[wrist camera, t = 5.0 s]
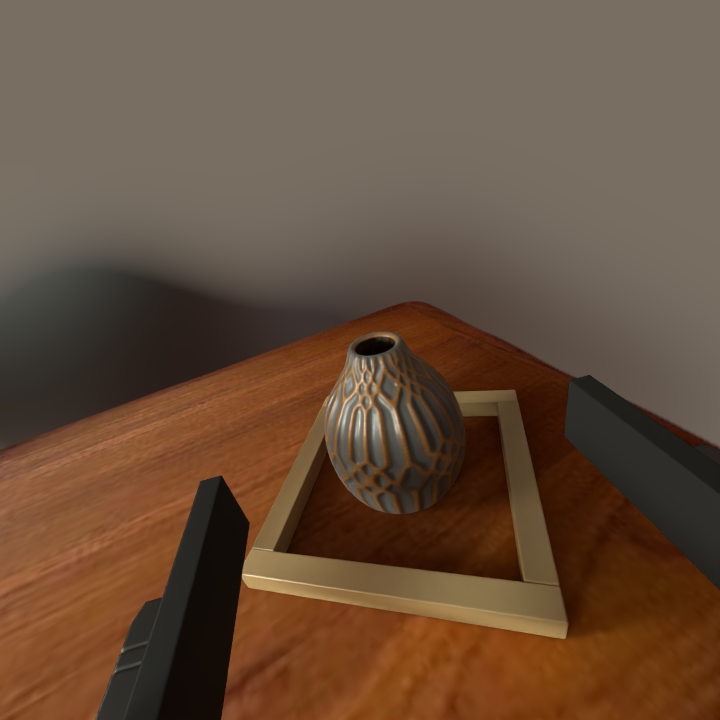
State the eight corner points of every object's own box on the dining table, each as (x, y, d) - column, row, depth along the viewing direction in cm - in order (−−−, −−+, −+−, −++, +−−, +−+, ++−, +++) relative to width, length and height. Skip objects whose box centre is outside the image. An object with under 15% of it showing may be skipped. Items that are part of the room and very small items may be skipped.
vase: (355, 558, 16) (300, 412, 12) (337, 455, 22) (295, 333, 18) (495, 513, 17) (489, 357, 12) (439, 424, 23) (422, 298, 18)
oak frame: (515, 404, 23) (515, 389, 22) (566, 640, 12) (569, 623, 12) (331, 407, 27) (327, 395, 26) (248, 588, 16) (238, 574, 15)
